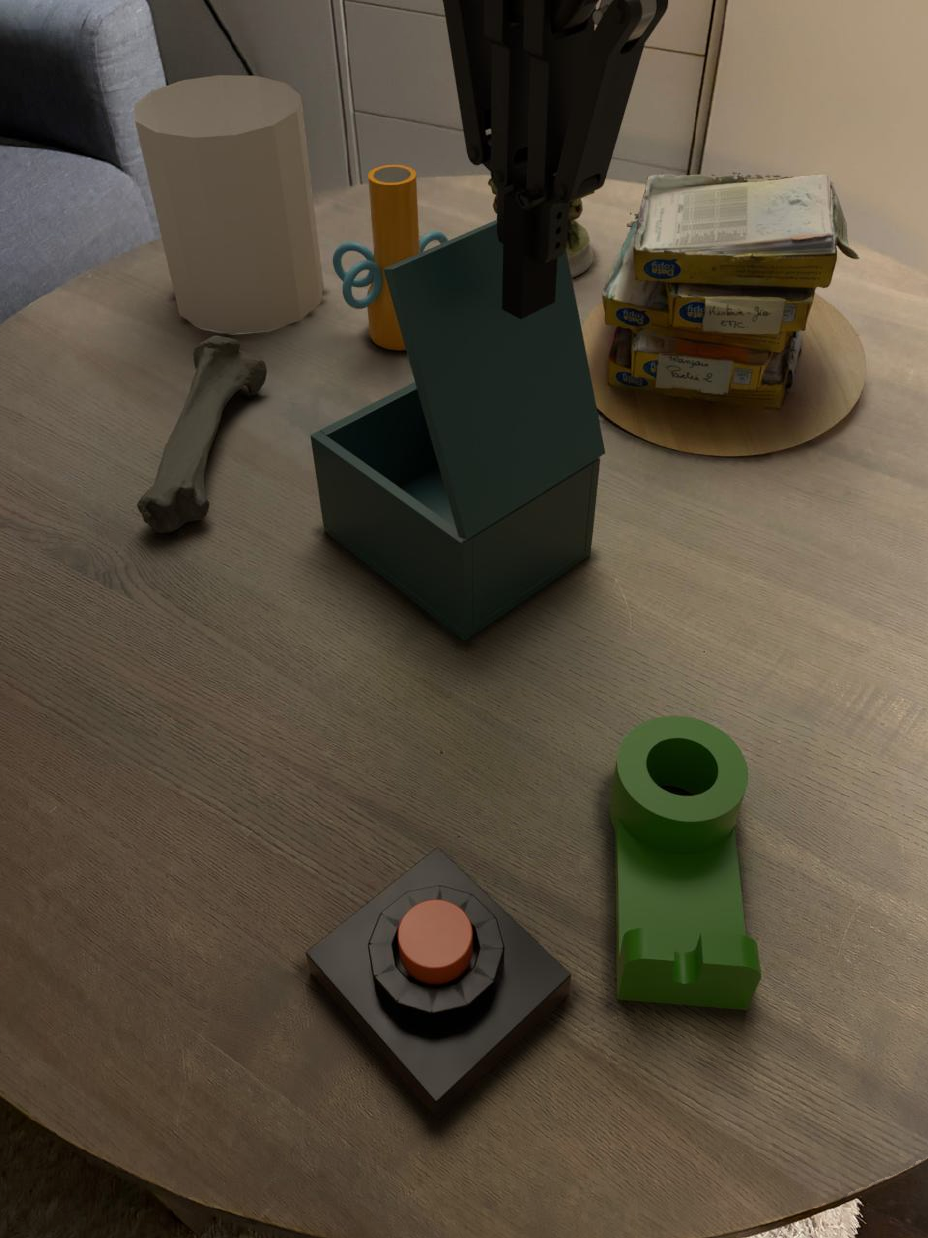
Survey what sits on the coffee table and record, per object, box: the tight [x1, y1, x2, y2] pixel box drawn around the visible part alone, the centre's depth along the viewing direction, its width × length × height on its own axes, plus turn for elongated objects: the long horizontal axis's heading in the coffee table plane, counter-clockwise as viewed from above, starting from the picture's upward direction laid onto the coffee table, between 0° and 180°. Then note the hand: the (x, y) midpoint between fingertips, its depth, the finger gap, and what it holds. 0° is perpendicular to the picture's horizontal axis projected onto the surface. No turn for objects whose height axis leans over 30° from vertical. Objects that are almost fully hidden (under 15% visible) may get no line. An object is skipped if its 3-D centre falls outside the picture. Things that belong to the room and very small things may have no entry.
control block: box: [305, 846, 572, 1120], centre depth 52 cm, size 10×9×4 cm
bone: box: [136, 335, 268, 534], centre depth 83 cm, size 22×6×6 cm, turn 176°
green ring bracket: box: [609, 715, 762, 1011], centre depth 56 cm, size 15×7×5 cm, turn 175°
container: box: [132, 74, 324, 335], centre depth 97 cm, size 14×14×18 cm
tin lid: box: [384, 219, 606, 540], centre depth 63 cm, size 16×13×1 cm
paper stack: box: [581, 170, 867, 457], centre depth 87 cm, size 25×25×17 cm
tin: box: [310, 381, 601, 641], centre depth 74 cm, size 16×13×9 cm
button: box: [398, 899, 473, 985], centre depth 51 cm, size 4×4×2 cm
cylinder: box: [332, 164, 449, 351], centre depth 92 cm, size 12×10×15 cm
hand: (528, 305), depth 58 cm, fingers closed
